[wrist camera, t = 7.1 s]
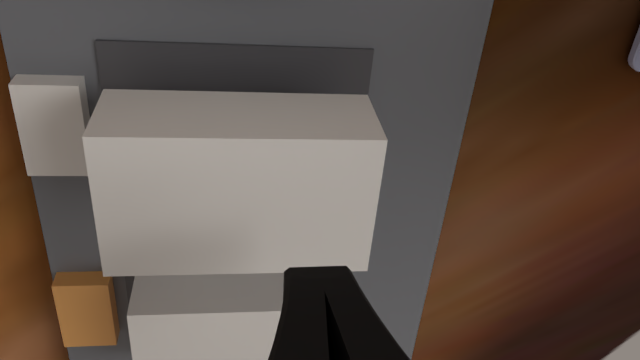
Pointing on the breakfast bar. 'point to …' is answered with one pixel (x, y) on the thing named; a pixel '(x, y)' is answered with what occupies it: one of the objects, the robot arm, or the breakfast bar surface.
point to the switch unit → (243, 76)
